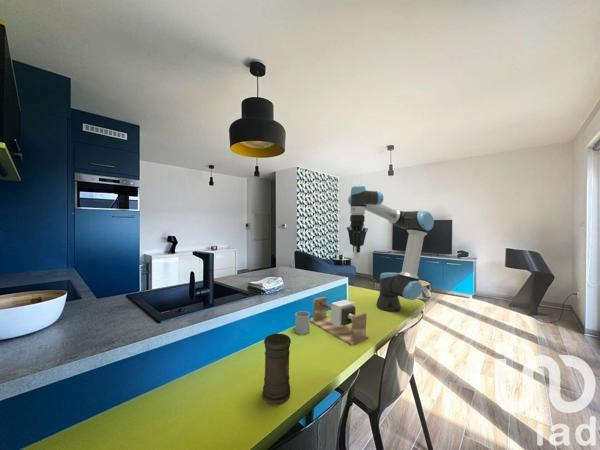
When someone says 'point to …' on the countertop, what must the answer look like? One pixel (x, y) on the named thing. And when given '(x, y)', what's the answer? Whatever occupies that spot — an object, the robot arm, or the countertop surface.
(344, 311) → the dark grey square plate
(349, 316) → the pipe
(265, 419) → the countertop surface
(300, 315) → the cup
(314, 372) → the countertop surface
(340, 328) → the stand
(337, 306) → the sleeve
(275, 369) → the container
